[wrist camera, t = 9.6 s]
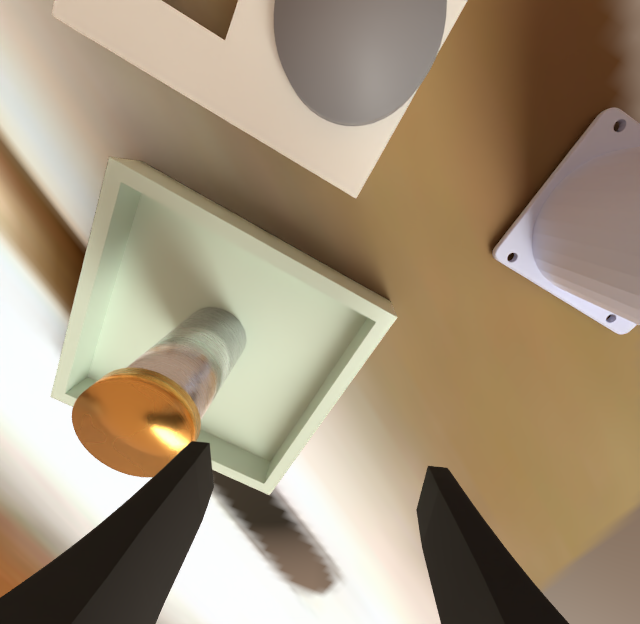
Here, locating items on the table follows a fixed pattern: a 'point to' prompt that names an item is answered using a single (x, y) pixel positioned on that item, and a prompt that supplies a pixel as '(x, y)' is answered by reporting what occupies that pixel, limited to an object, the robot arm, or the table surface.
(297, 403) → the tray
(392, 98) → the plate
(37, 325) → the table surface
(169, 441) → the jar
